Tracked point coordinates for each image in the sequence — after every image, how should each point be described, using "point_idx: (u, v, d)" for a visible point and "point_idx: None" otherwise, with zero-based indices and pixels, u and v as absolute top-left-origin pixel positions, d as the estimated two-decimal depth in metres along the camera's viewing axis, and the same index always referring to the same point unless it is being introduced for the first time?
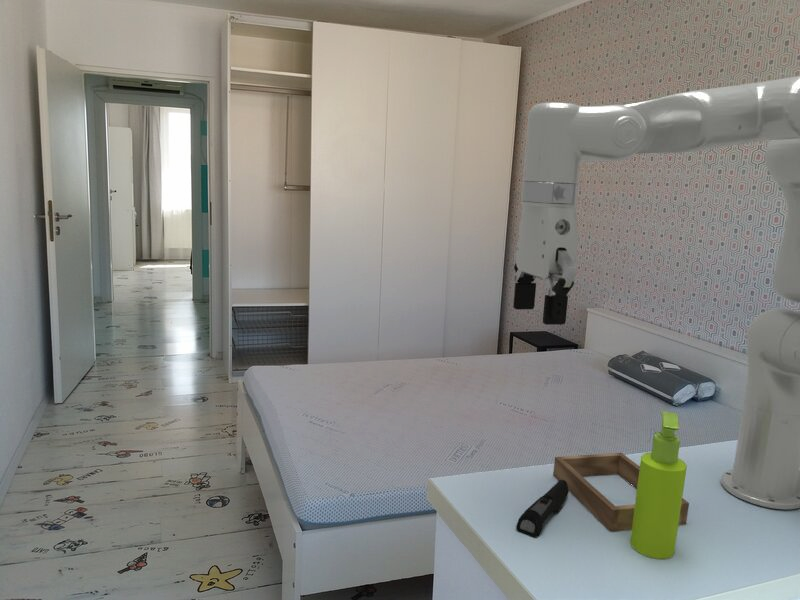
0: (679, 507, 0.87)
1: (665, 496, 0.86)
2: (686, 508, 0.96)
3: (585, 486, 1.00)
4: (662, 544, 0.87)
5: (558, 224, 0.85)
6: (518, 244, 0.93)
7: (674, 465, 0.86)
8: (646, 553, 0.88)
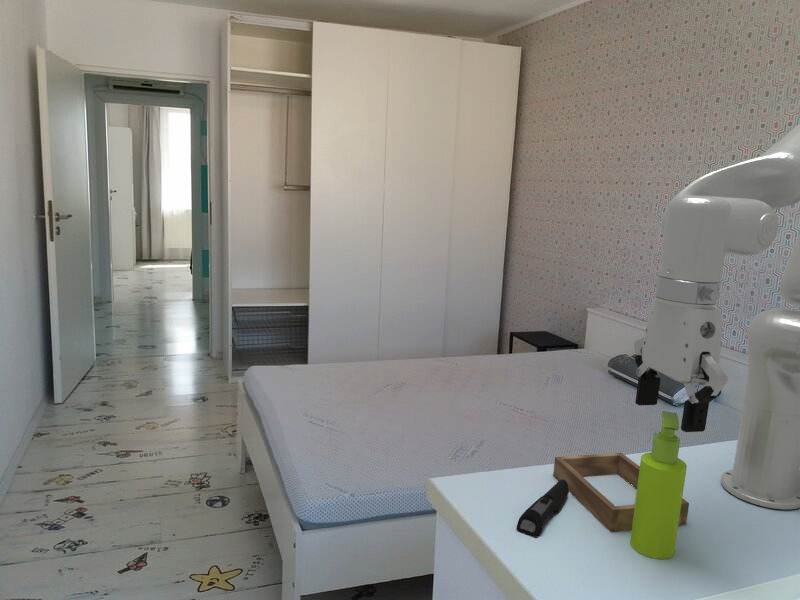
0: (679, 507, 0.87)
1: (665, 496, 0.86)
2: (686, 508, 0.96)
3: (585, 486, 1.00)
4: (662, 544, 0.87)
5: (702, 326, 0.79)
6: (646, 338, 0.87)
7: (673, 465, 0.86)
8: (646, 553, 0.88)
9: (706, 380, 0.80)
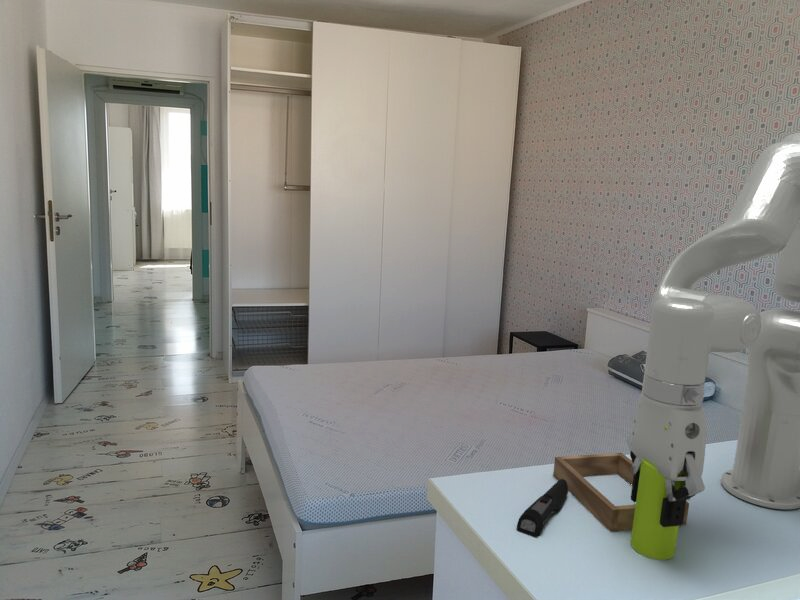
0: None
1: (666, 497, 0.85)
2: (686, 508, 0.96)
3: (585, 486, 1.00)
4: (662, 545, 0.87)
5: (687, 426, 0.82)
6: (634, 429, 0.90)
7: None
8: (646, 554, 0.88)
9: None
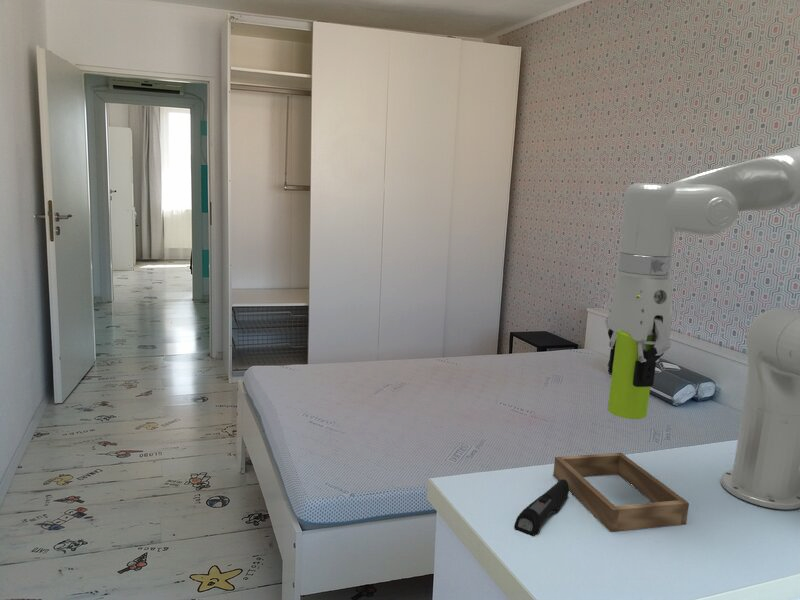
0: None
1: None
2: (686, 508, 0.96)
3: (585, 486, 1.00)
4: (635, 405, 0.98)
5: (655, 293, 0.93)
6: (611, 307, 1.01)
7: None
8: (621, 414, 0.99)
9: None
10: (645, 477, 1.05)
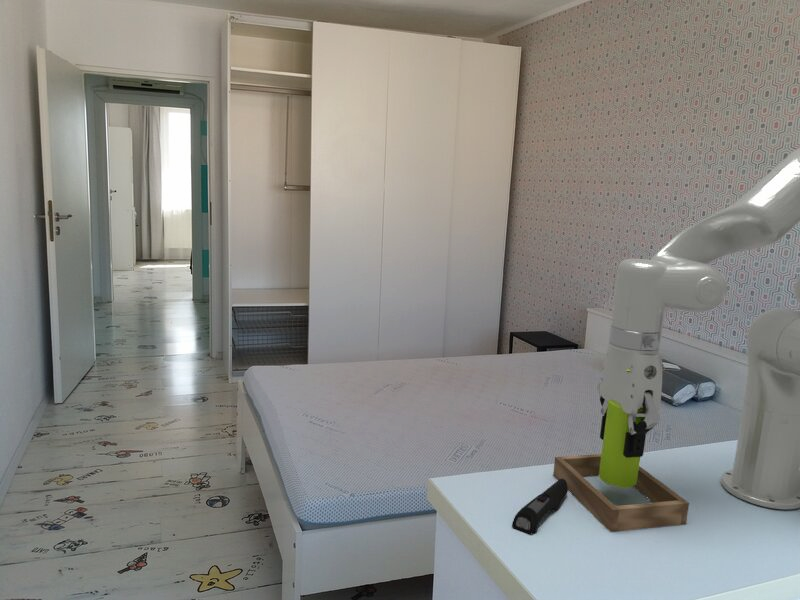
0: None
1: None
2: (686, 508, 0.96)
3: (585, 486, 1.00)
4: (625, 474, 1.00)
5: (646, 368, 0.96)
6: (603, 375, 1.03)
7: None
8: (611, 483, 1.01)
9: None
10: (645, 477, 1.05)
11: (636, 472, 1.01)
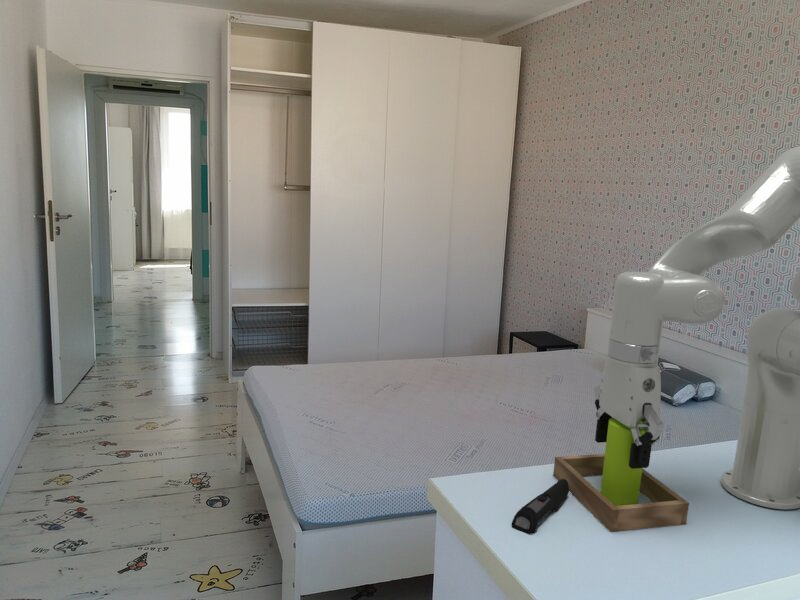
0: None
1: (628, 452, 0.99)
2: (686, 508, 0.96)
3: (585, 486, 1.00)
4: (626, 495, 1.00)
5: (644, 381, 0.96)
6: (602, 387, 1.04)
7: None
8: (613, 503, 1.01)
9: (649, 425, 0.97)
10: (645, 477, 1.05)
11: (637, 492, 1.01)
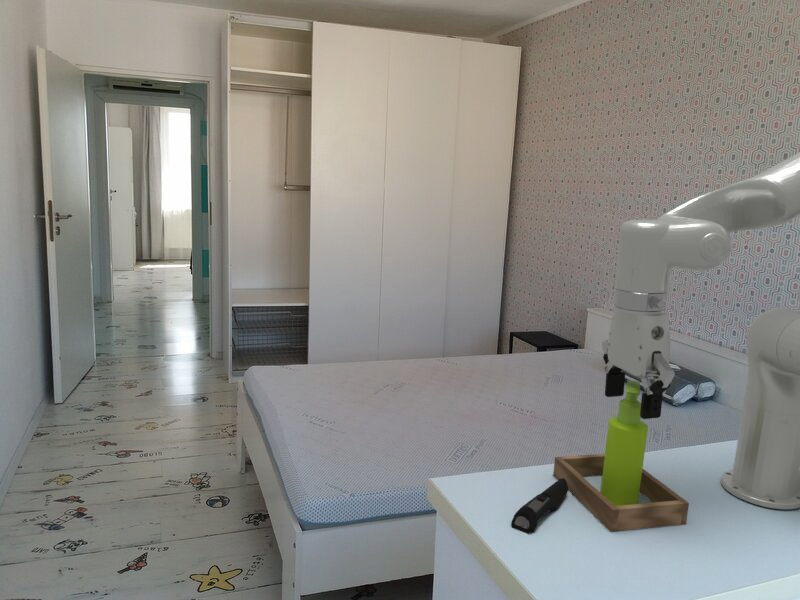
0: (641, 463, 1.00)
1: (628, 452, 0.99)
2: (686, 508, 0.96)
3: (585, 486, 1.00)
4: (626, 495, 1.00)
5: (653, 329, 0.94)
6: (610, 340, 1.02)
7: (636, 426, 0.99)
8: (613, 503, 1.01)
9: (659, 374, 0.96)
10: (645, 477, 1.05)
11: (637, 492, 1.01)
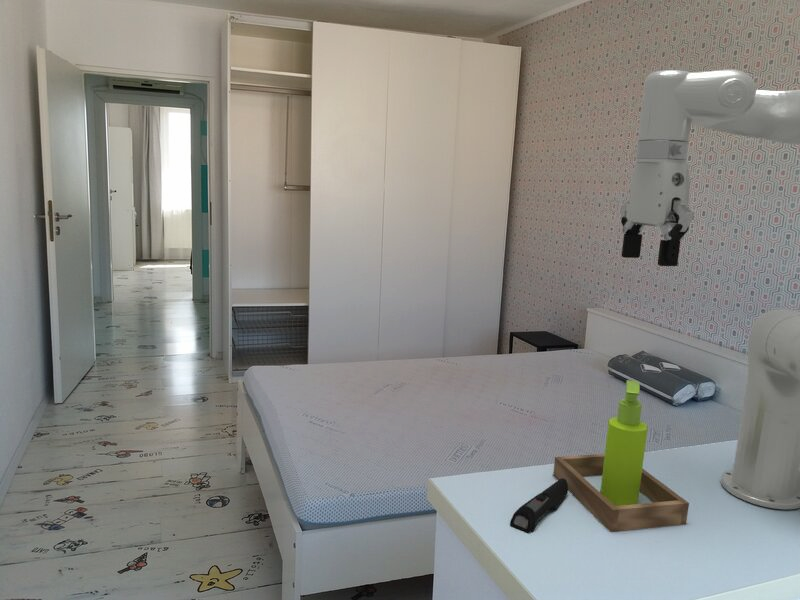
0: (641, 463, 1.00)
1: (628, 453, 0.99)
2: (686, 508, 0.96)
3: (585, 486, 1.00)
4: (626, 495, 1.00)
5: (673, 177, 0.97)
6: (629, 198, 1.05)
7: (636, 426, 0.99)
8: (613, 503, 1.01)
9: (678, 223, 0.98)
10: (645, 477, 1.05)
11: (637, 492, 1.01)
